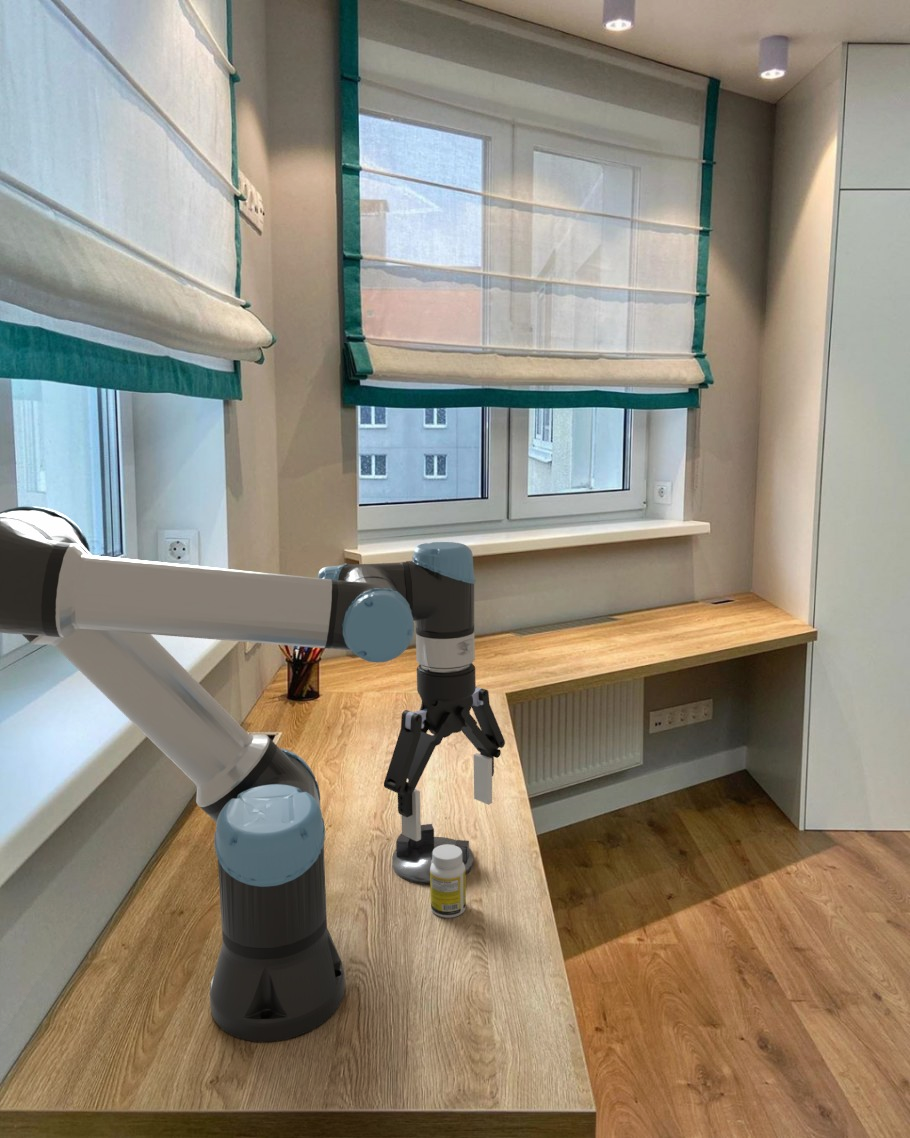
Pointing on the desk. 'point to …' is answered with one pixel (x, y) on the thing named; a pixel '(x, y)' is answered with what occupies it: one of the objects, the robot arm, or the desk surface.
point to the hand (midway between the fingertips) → (448, 818)
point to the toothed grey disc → (424, 855)
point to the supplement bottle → (447, 881)
